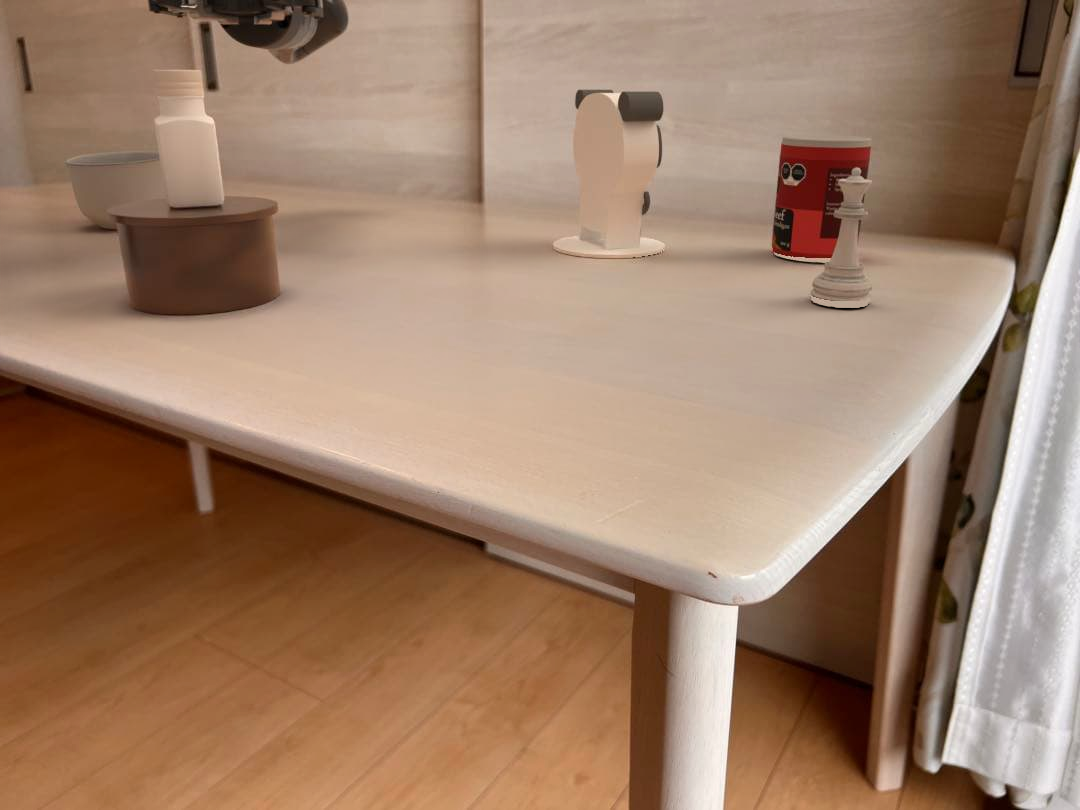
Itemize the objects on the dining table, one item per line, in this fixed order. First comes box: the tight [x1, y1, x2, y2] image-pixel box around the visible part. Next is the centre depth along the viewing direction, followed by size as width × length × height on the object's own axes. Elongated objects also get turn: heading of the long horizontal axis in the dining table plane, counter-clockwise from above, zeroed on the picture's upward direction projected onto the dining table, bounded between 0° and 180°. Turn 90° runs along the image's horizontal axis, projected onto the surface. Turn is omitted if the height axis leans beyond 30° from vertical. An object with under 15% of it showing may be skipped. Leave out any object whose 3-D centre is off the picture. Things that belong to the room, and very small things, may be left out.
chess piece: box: [810, 168, 873, 301], centre depth 64 cm, size 4×4×10 cm
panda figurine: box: [552, 89, 666, 259], centre depth 84 cm, size 12×11×15 cm
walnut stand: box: [107, 195, 281, 316], centre depth 66 cm, size 12×12×7 cm
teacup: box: [64, 150, 166, 231], centre depth 99 cm, size 14×11×8 cm
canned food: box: [771, 134, 872, 258], centre depth 81 cm, size 8×8×11 cm
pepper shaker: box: [152, 69, 225, 209], centre depth 63 cm, size 4×4×10 cm
